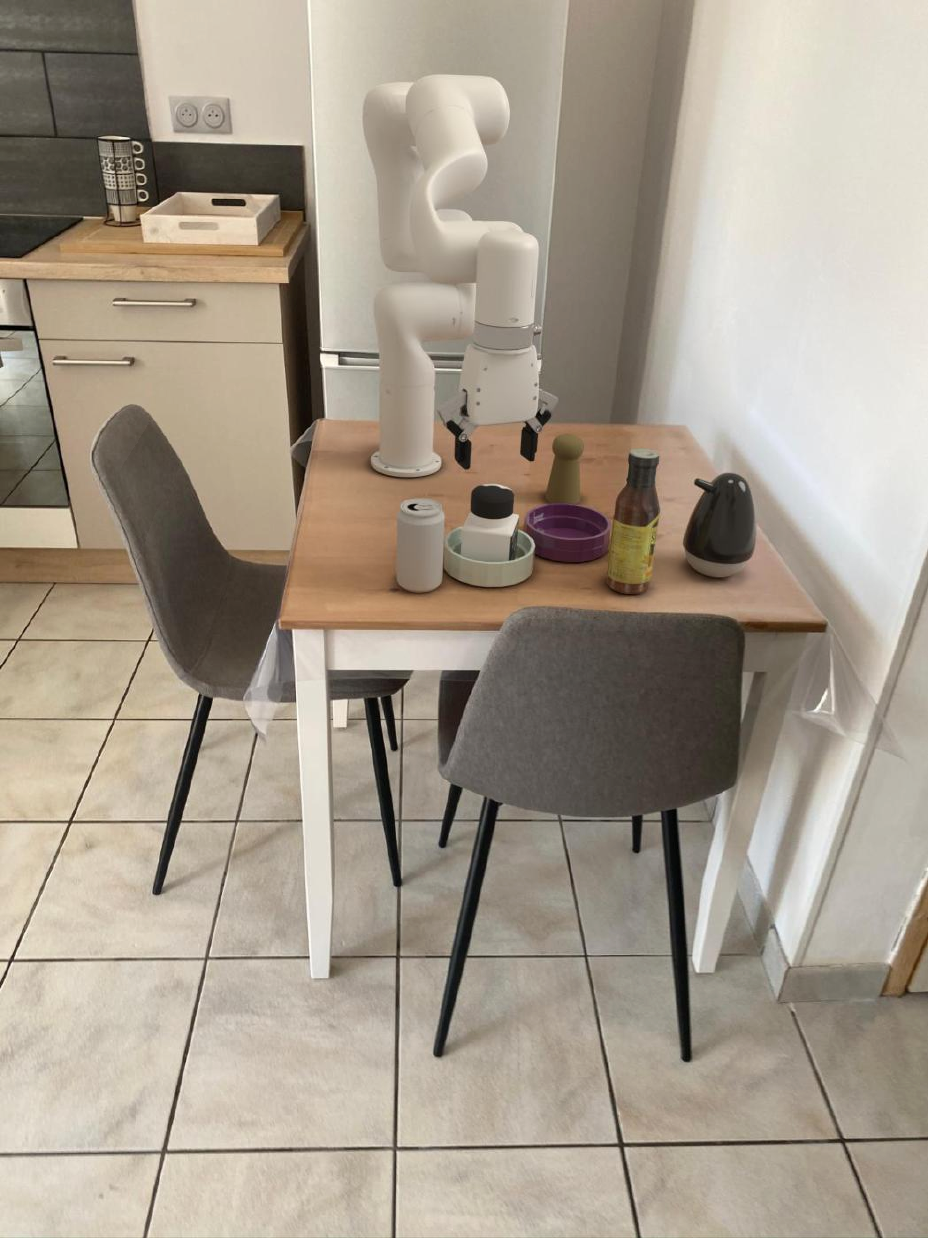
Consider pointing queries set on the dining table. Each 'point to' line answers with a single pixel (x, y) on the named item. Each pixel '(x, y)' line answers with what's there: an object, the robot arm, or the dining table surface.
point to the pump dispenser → (721, 526)
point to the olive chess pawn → (565, 470)
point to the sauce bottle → (635, 526)
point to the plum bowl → (568, 532)
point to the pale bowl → (488, 563)
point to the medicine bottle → (490, 525)
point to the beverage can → (420, 544)
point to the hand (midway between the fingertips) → (495, 462)
